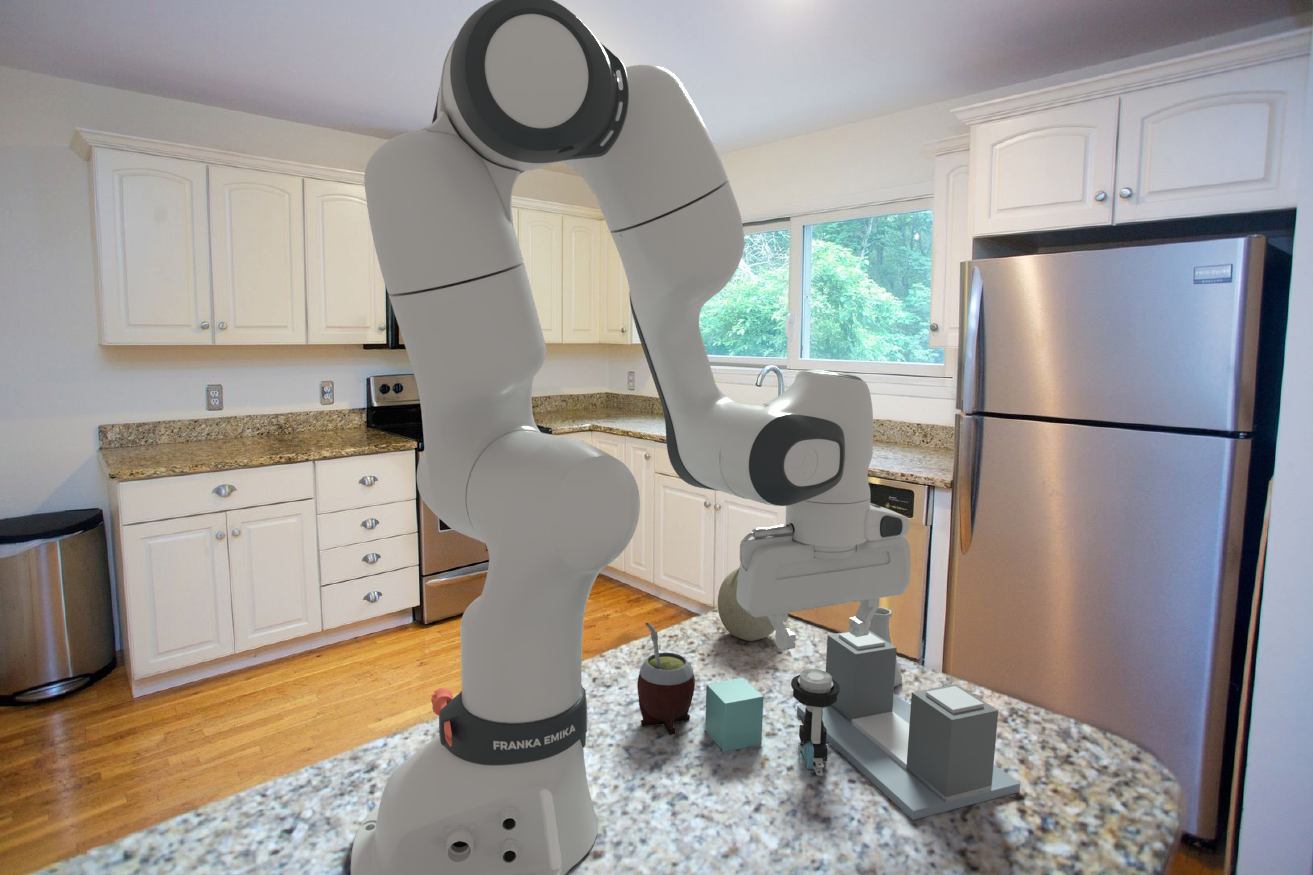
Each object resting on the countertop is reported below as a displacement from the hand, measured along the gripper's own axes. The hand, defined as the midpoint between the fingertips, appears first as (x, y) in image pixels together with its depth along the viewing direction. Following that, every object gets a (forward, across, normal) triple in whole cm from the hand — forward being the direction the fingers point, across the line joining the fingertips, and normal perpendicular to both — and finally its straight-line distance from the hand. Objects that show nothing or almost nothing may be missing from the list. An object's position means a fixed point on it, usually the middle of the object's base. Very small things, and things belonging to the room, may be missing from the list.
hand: (822, 640), depth 81 cm
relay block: (+8, -7, +8) cm, 13 cm away
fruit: (+15, +8, +33) cm, 37 cm away
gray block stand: (+15, +10, -1) cm, 18 cm away
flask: (+15, +19, +15) cm, 29 cm away
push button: (+14, -1, 0) cm, 15 cm away
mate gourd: (+14, -14, +13) cm, 24 cm away
